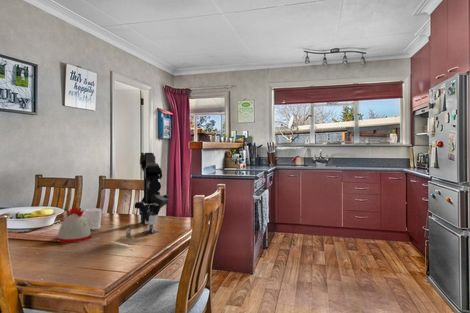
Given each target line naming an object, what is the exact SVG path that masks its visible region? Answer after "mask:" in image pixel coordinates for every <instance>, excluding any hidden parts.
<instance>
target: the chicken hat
mask: <svg viewBox="0 0 470 313" xmlns="http://www.w3.org/2000/svg"><path fill="white" fill-rule="evenodd" d="M66 213H67V216H66V217H65V219H64V220H63V221H62V223H61V225H60V227H59V230H58V233H57V238H58V240H59V241H58V240H57V241H58V243H59V242H60V243H65V244H69V243H80V242H84V241H88V240H90V239H91V237H92V234H91V233H92V230H90V228H89V223H88V222H87V221H86V217H84V216H83V213H84V210H82V207H79V208H78V206H76V207H75V206H72V208H70V209H69V211H67V212H66Z"/></svg>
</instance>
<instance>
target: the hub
mask: <svg viewBox="0 0 470 313" xmlns="http://www.w3.org/2000/svg"><path fill="white" fill-rule="evenodd" d="M131 230H132V229H131V227H127V228H126V229H125V235H122V236H120V239H122V240H132V239H136V237H137V236H136V235H134V234H132V233H131Z"/></svg>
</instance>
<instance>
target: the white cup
mask: <svg viewBox="0 0 470 313" xmlns="http://www.w3.org/2000/svg"><path fill="white" fill-rule="evenodd" d="M102 211H103V209H102V208H87V209H85V219H86V221H87V222H88V223H89V228H90V229H92V230H91V231H94V230H99V229H101V222H102Z"/></svg>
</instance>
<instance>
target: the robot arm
mask: <svg viewBox="0 0 470 313" xmlns="http://www.w3.org/2000/svg"><path fill="white" fill-rule="evenodd" d="M139 165H140V169H141V170H142V172H143V198H142V199H141V200H140V201H138V202H135V203H134V209H138V215H139V216H140V224H142V225H146V224H145V220H146V221H148V219H149V213H155V214H158V215H159V214H160V210H161V209H162V208H163V207H164V206H166V205H167V204H168V203H169V201H170V197H169V195H168V194H164V195H161V193H160V190H161V188H162V184H161V182H160V181H159V180H161V179H162V178H163V173H162V172H163V170H162V167H160V164H158V163H157V162H156V156H155V154H154V152H144V154H142V155H140V157H139Z"/></svg>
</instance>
